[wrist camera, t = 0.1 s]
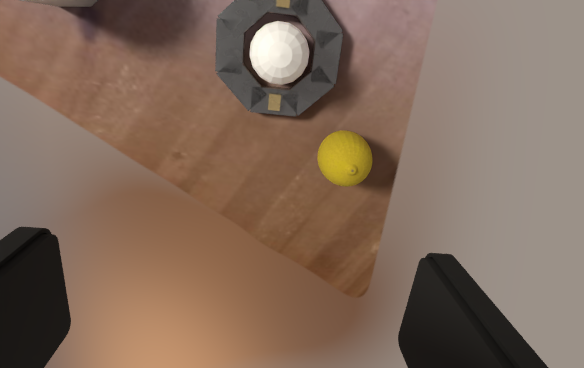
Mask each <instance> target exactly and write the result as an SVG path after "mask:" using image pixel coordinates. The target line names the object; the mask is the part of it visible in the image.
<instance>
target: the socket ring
mask: <svg viewBox="0 0 584 368" xmlns="http://www.w3.org/2000/svg"><path fill="white" fill-rule="evenodd" d="M266 13H273V14H281V15H289V16H296V17H297V18H298V20H299V21H300V22H301V24H302V25H303V26H304V28H305V29H306V31H307V32H308V33H309V35H310V36H311V38H312V39H313V40H314V44H313V52H312V61H311V69H310V71H309V72H308V73H307V74H305V75H304V76H303V77H302V78H301V79H299V80H298V81H297V82H296V83H295V84H294V85H292V86H291V87H290V88H281V87H271V86H262V85H261V84H260V83H259V82H258V80H257V79H256V78H255V77H254V75H253V74H252V73H251V72H250V71H249V69H248V68H247V67H246V66H245V64H244V63H243V62H244V43H245V32H246V31H248V30H249V29H250V28H251V27H252V26H253V25H254V24H255V23H256V22H257V21H259V20H260V19H261V18H262V17H263V16H264V15H265V14H266ZM218 17H219V18H220V19H218V18H217V29H216V70H215V71H217V72H218V73H216V74H217V75H218V76H219V77H220V78H221V80H222V81H223V82H224V83H225V84H226V85H227V87H228V88H229V89H230V90H231V91H232V92H233V94H234V95H235V96H236V97H237V98H238V99H239V101H240V102H241V103H242V104H243V105H244V106H245V108H246V109H247V110H248V111H249V110H250V109H251V111H250V112H256V113H266V114H276V115H287V116H296V114H297V115H300V114H301V113H302V112H303V111H305V110H306V109H307V108H308V107H309V106H311V105H312V104H313V103H314V102H316V101H317V100H318V99H319V98H321V97H322V96H323V95H324V94H325V93H327V92H328V91H329V90H330V89H332V88H333V87H334V85H333V84H336V79H337V72H338V66H339V59H340V52H341V45H342V39H343V33H341V32H342V29H341V28H340V26H339V25H338V23H337V22H336V20H335V19H334V17H333V16H332V15H331V13H330V12H329V10H328V9H327V7H326V6H325V4H324V3H323V1H322V0H234V1H233V2H232V3H231V4H230V5H229V6H228V7H227V8H226V9H225V10H224V11H223V12H222V13H220V14H219V15H218Z"/></svg>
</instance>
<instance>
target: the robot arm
mask: <svg viewBox="0 0 584 368" xmlns="http://www.w3.org/2000/svg"><path fill="white" fill-rule="evenodd" d="M70 324H71V318H70V312H69V305H68V299H67V294H66V287H65V280H64V274H63V268H62V262H61V256H60V250H59V243H58V239H57V237H56V236H55V235H52V234H51V232H50V231H49V230H48V229H46V228H33V227H19V228H17V229H15V230H14V231H12V232H11V233H10V234H8V235H7V236H5V237H4V238H3V239H1V240H0V368H44V367H45V365H46V364H47V362H48V361H49V360H50V358H51V357H52V355H53V354H54V353H55V351H56V350H57V348H58V347H59V345H60V344H61V343H62V341H63V340H64V338H65V337H66V335H67V334H68V331H69V329H70ZM398 341H399V347H400V350H401V352H402V354H403V357H404V359H405V362H406V364H407V366H408V368H548V367H547V366H546V364H545V363H544V362H543V361H542V360H541V359H540V357H539V356H538V355H537V354H536V353H535V351H534V350H533V349H532V348H531V347H530V346H529V344H528V343H527V342H526V341H525V340H524V339H523V337H522V336H521V335H520V334H519V333H518V332H517V330H516V329H515V328H514V327H513V326H512V324H511V323H510V322H509V321H508V320H507V319H506V317H505V316H504V315H503V314H502V313H501V312H500V310H499V309H498V308H497V307H496V306H495V304H494V303H493V302H492V301H491V300H490V299H489V297H488V296H487V295H486V294H485V293H484V291H483V290H482V289H481V288H480V287H479V286H478V284H477V283H476V282H475V281H474V280H473V278H472V277H471V276H470V275H469V274H468V273H467V271H466V270H465V269H464V268H463V267H462V266H461V264H460V263H459V262H458V261H457V260H456V259H455V257H454V256H452V255H451V254H439V253H429V254H427V256H426V257H425V258H422V259H421V260H420V261H419V265H418V268H417V271H416V275H415V278H414V282H413V285H412V289H411V292H410V296H409V299H408V303H407V307H406V310H405V313H404V317H403V320H402V324H401V327H400V331H399V335H398Z"/></svg>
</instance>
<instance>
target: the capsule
mask: <svg viewBox="0 0 584 368" xmlns="http://www.w3.org/2000/svg"><path fill="white" fill-rule="evenodd" d="M308 58H309V48H308V44H307V40H306V38H305V37H304V35H303V34H302V32H301V31H300V29H298V28H296V27H295V26H293V25H292V24H290V23H287V22H281V21H276V22H272V23H268V24H265V25H264V26H263V27H262V28H261V29H259V30H258V31H257V32H256V34H255V36H254V38H253V40H252V42H251V45H250V59H251V63H252V66H253V68H254V70H255V71H256V72H257V74H258V75H259V76H260V77H261V78H262V79H264V80H266V81H267V82H269V83H272V84H279V85H283V84H286V83H290V82H293V81H294V80H295V79H297V78H298V77H299V76H301V75H302V73H303V71H304V70H305V68H306V66H307V64H308Z"/></svg>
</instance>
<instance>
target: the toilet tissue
mask: <svg viewBox="0 0 584 368" xmlns="http://www.w3.org/2000/svg"><path fill="white" fill-rule="evenodd" d="M20 1H26V2H33V3H39V4H45V5H52V6H58V7H91V6H92V5H93V4H95V3H96V2H97V1H98V0H20Z"/></svg>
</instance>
